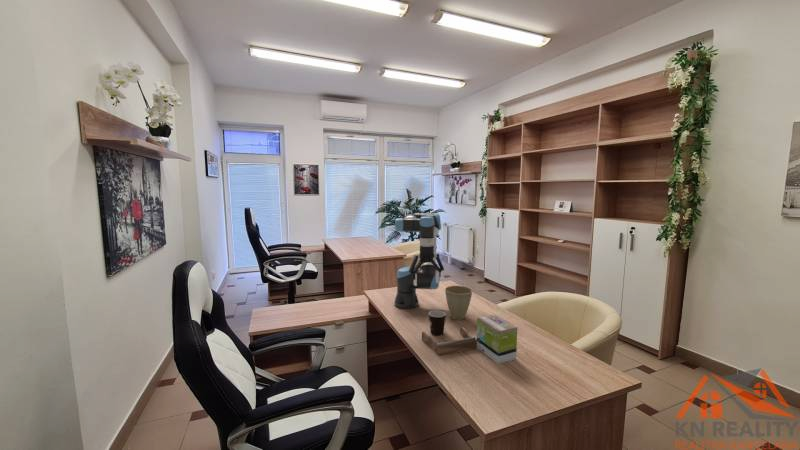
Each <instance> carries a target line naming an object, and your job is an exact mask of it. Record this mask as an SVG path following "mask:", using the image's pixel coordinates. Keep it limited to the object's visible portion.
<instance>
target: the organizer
mask: <svg viewBox="0 0 800 450" xmlns="http://www.w3.org/2000/svg"><path fill="white" fill-rule="evenodd" d="M459 329H460V330H459V333H460V335H461V337H462V338H461V339H456V340H450V341H443V342H438V341H436V340H435V338H433V337H431V335H429V334H428V333H427V332H425V331H422V332H421V341H422V342H424V344H426V345H427V346H428V347H429V348H431V349H432V350H433V351H434V352H435V353H436V355H438V356H443V355H444V356H445V355H449V354H455V353H461V352H466V351H470V350H476V349H478V348H477V336H472V335H471V334H470V333H469V331H467V329H466V328H465V327H464V326H463V325H461V326H460V327H459Z"/></svg>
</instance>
